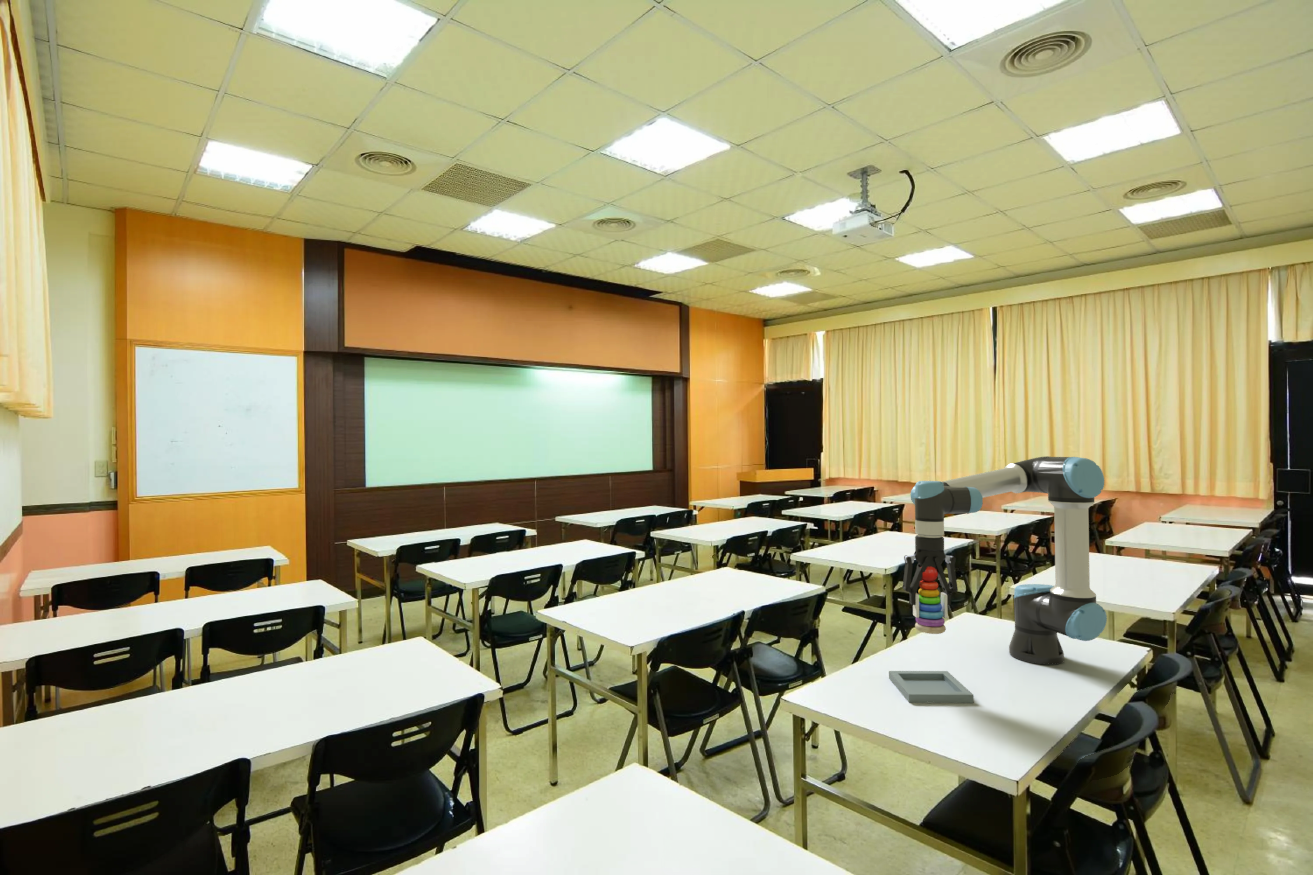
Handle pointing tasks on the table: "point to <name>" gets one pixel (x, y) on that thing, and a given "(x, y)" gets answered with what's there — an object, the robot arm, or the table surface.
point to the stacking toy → (930, 604)
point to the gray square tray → (930, 687)
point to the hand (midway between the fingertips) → (930, 616)
